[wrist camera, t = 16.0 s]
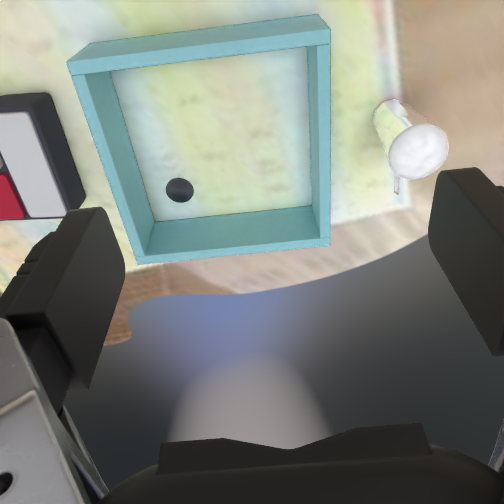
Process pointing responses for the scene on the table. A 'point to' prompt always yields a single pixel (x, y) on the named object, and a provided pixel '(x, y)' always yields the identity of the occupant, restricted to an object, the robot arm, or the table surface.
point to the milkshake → (409, 141)
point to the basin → (180, 190)
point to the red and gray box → (35, 161)
